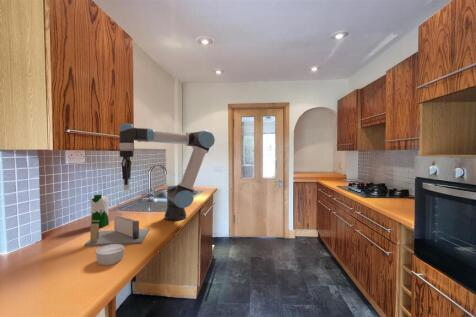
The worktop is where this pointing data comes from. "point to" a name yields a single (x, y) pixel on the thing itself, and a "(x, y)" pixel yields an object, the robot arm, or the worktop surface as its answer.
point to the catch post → (94, 233)
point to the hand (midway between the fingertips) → (126, 190)
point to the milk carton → (99, 210)
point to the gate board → (117, 238)
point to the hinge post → (135, 229)
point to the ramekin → (109, 254)
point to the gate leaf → (123, 225)
